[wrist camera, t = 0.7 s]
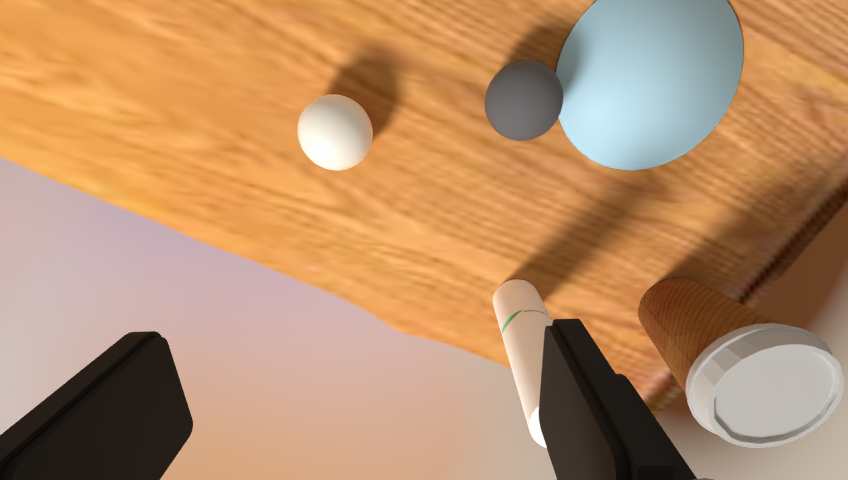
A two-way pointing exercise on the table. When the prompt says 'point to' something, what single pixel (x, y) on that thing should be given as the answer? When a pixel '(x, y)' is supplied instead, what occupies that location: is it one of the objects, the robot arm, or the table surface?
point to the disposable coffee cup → (741, 365)
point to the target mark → (648, 78)
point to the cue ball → (335, 132)
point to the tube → (524, 343)
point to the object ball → (524, 100)
